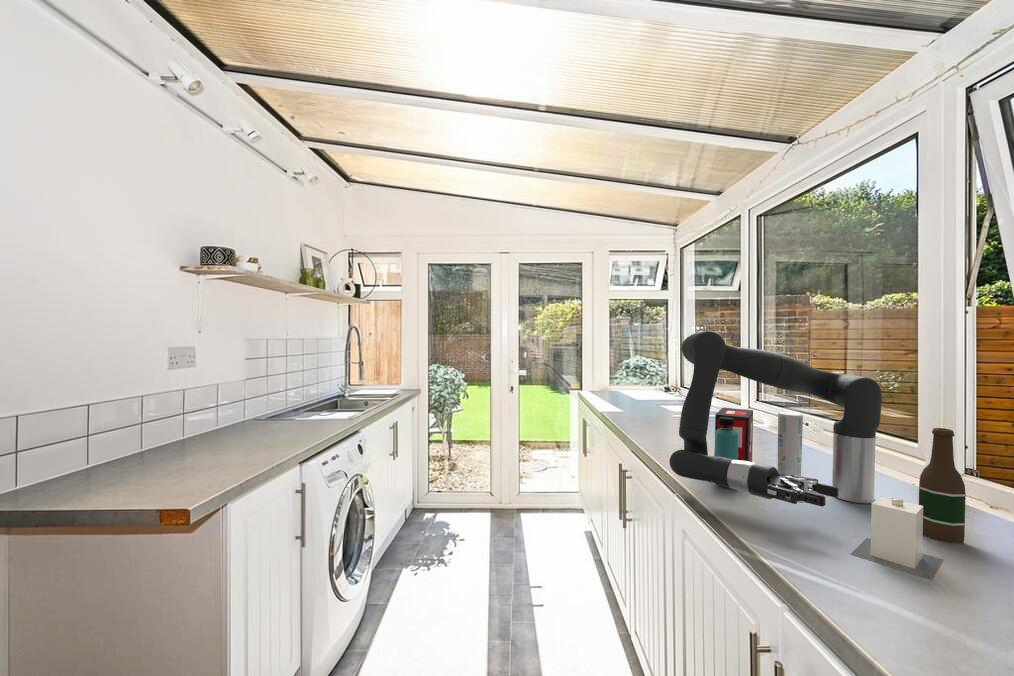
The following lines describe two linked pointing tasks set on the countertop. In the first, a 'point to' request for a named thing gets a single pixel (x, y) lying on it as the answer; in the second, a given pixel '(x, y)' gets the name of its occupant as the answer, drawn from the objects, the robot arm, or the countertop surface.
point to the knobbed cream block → (897, 531)
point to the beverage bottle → (726, 440)
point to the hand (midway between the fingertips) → (831, 497)
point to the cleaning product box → (739, 429)
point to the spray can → (789, 443)
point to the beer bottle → (942, 492)
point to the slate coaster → (923, 569)
